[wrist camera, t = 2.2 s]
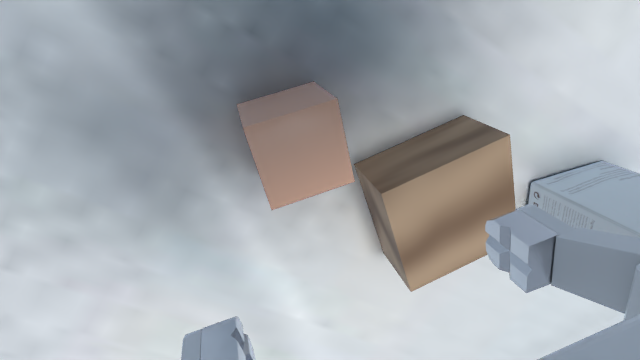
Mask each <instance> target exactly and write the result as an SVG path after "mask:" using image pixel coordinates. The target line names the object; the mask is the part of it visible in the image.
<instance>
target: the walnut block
mask: <svg viewBox="0 0 640 360" xmlns="http://www.w3.org/2000/svg"><path fill="white" fill-rule="evenodd" d="M354 165H355V168H356V171H357V174H358V177H359V180H360V183H361V186H362V189H363V192H364V195H365V198H366V201H367V204H368V207H369V210H370V213H371V216H372V219H373V222H374V225H375V228H376V231H377V234H378V237H379V240H380V243H381V246H382V250H383V253H384V254H385V256H386V257H387V258H388V260H389V261H390V263H391V264H392V266H393V267H394V268H395V270H396V271H397V273H398V274H399V276H400V277H401V278H402V280H403V281H404V283H405V284H406V285H407V287H408V288H409V290H410V291H411V292H412V291H414V290H416V289H418V288H420V287H422V286H424V285H426V284H428V283H430V282H432V281H434V280H436V279H438V278H440V277H442V276H445V275H447V274H449V273H451V272H453V271H455V270H457V269H459V268H461V267H463V266H465V265H467V264H469V263H471V262H473V261H475V260H477V259H479V258H481V257H483V256H485V255H487V252H486V241H487V239H488V237H489V234H488V233H487V232H486V231H485V225H486V222H487V221H488V220H490V219H493V218H495V217H498V216H500V215H503V214H505V213H508V212H511V211H513V210H515V196H514V182H513V169H512V156H511V143H510V135H509V134H507V133H505V132H502V131H500V130H497V129H495V128H493V127H490V126H488V125H486V124H483V123H481V122H479V121H476V120H474V119H471V118H469V117H467V116H464V115H463V116H461V117H458V118H456V119H454V120H452V121H449V122H447V123H445V124H443V125H441V126H438V127H436V128H434V129H432V130H429V131H427V132H425V133H423V134H421V135H418V136H416V137H414V138H412V139H409V140H407V141H405V142H403V143H401V144H398V145H396V146H394V147H392V148H390V149H387V150H385V151H383V152H381V153H378V154H376V155H374V156H372V157H370V158H367V159H365V160H363V161H361V162H358V163H356V164H354Z"/></svg>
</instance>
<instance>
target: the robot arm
mask: <svg viewBox="0 0 640 360" xmlns="http://www.w3.org/2000/svg"><path fill="white" fill-rule="evenodd" d="M485 231H486V232H487V233H488V234H489V237H488V239H487V241H486V252H487V254H488V256H489V259H490V260H491V261H492V263H493V264H494V265H495V266H496V267H497V268H498V269H499V270H502V271H506V272H509V276H510V279H511V280H512V281H513V282H514V283H515V284H516V285H517V286H519V287H520V288H521V289H522V290H523V291H524V292H525V293H528V292H531V291H533V290H536V289H538V288H541V287H544V286H546V285H549V284H551V285H552V286H555V287H557V288H560V289H563V290H565V291H568V292H570V293H573V294H575V295H578V296H581V297H583V298H586V299H588V300H591V301H593V302H596V303H599V304H601V305H604V306H606V307H609V308H611V309H614V310H617V311H619V312H622V313H624V314H625V315H624V320H623V321H622V322H620V323H618V324H615V325H613V326H611V327H609V328H606V329H604V330H602V331H600V332H597V333H595V334H593V335H591V336H589V337H586V338H584V339H582V340H580V341H577V342H575V343H573V344H571V345H569V346H566V347H564V348H562V349H560V350H557V351H555V352H553V353H551V354H549V355H546V356H544V357H542V358H540V359H538V360H640V238H636V237H630V236H625V235H619V234H614V233H608V232H603V231H597V230H592V229H587V228H581V227H579V228H576V229H575V228H573V227H571V226H569V225H568V224H566V223H564V222H563V221H561V220H559V219H557V218H556V217H554V216H552V215H551V214H549V213H547V212H545V211H544V210H542V209H540V208H539V207H537V206H535V205H532V204H528V205H525V206H523V207H520V208H518V209H515V210H513V211H511V212H508V213H505V214H503V215H500V216H498V217H495V218H493V219H490V220H488V221H487V222H486V225H485ZM181 360H255V355H254V351H253V347H252V344H251V342H250V339H249V337H248V335H246V334H244V333H243V325H242V323H241V321H240V319H239V317H237V316H236V317H233V318H230V319H227V320H224V321H221V322H219V323H216V324H213V325H210V326H207V327H204V328H203V329H200V330H197V331H194V332H191V333H189V334H186V335H185V337H184V339H183V346H182V356H181Z"/></svg>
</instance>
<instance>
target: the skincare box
mask: <svg viewBox="0 0 640 360" xmlns="http://www.w3.org/2000/svg"><path fill="white" fill-rule="evenodd" d="M528 204H532V205H535V206H537V207H539V208H540V209H542V210H544V211H545V212H547V213H549V214H551V215H552V216H554V217H556V218H557V219H559V220H561V221H563V222H564V223H566V224H568V225H569V226H571V227H573V228H575V229H576V228H579V227H581V228H587V229H592V230H597V231H603V232H608V233H614V234H619V235H625V236H630V237H636V238H640V174H639V173H636V172H633V171H630V170H627V169H624V168H622V167H619V166H616V165H613V164H610V163H607V162H605V161H599V162H596V163H593V164H590V165H587V166H583V167H580V168H577V169H573V170H570V171H566V172H563V173H560V174H556V175H553V176H550V177H547V178H544V179H540V180H536V181H533V182H532V183H531V187H530V196H529V201H528Z"/></svg>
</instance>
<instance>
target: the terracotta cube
mask: <svg viewBox="0 0 640 360" xmlns="http://www.w3.org/2000/svg"><path fill="white" fill-rule="evenodd" d="M237 108H238V112H239V115H240V119H241V123H242V127H243V130H244V133H245V136H246V138H247V141H248V144H249V147H250V150H251V153H252V156H253V158H254V161H255V164H256V167H257V170H258V173H259V175H260V178H261V181H262V184H263V187H264V190H265V192H266V195H267V198H268V201H269V204H270V207H271V209H272V210H274V209H277V208H280V207H283V206H286V205H288V204H291V203H294V202H297V201H300V200H303V199H306V198H309V197H312V196H315V195H317V194H320V193H323V192H326V191H329V190H332V189H335V188H338V187H341V186H344V185H347V184H349V183H352V182H355V181H354V176H353V171H352V166H351V161H350V157H349V152H348V147H347V142H346V137H345V132H344V128H343V123H342V118H341V113H340V108H339V103H338V99H337V98H336V97H335V96H333V95H332V94H331V93H329V92H328V91H326V90H325V89H324V88H322V87H321V86H319V85H318V84H317V83H315V82H314V81H313V82H310V83H307V84H303V85H300V86H297V87H293V88H290V89H287V90H283V91H280V92H276V93H273V94H270V95H266V96H263V97H260V98H256V99H253V100H250V101H246V102H243V103H240V104H237Z"/></svg>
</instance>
